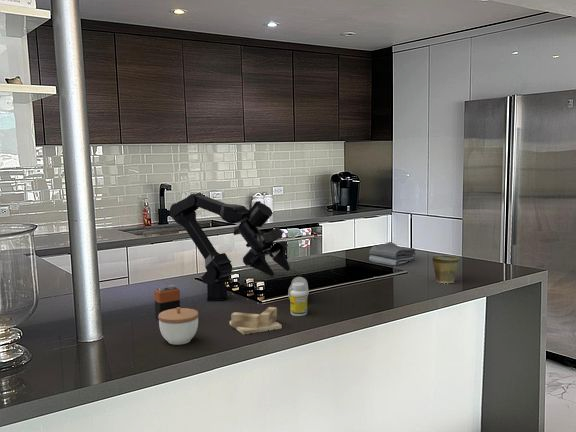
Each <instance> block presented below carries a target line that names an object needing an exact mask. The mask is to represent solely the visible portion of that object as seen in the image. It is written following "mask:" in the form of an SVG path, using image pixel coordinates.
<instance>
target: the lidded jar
mask: <svg viewBox="0 0 576 432" xmlns="http://www.w3.org/2000/svg"><path fill="white" fill-rule="evenodd" d="M158 318H159V319H158V324H159V325H158V327H159V330H160V334H161V336H162V337H163V338H164V339H165V341H167V342H168V344H170V345H173V346H174V345H175V346H177V345H178V346H179V345H185V344H188V343H190V342H191V341H192V339H193V338H194V337H195V335H196V333H197V331H198V328H199V327H198V325H199V312H198V310H197V309H194V308H187V307H181V306H180V307H177V308H176V309H169V310H165V311H163V312H161V313H160V314H159V315H158Z"/></svg>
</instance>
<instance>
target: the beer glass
mask: <svg viewBox="0 0 576 432" xmlns="http://www.w3.org/2000/svg"><path fill="white" fill-rule="evenodd" d="M296 282H301V283H304V284H305V288H304V290H306V291H307V298H308V296H309V294H310V293H309V291H310V290H309V285H308V284H309V283H308V281H307V279H306V278H305V277H302V276H297V277H294V278H293V279H292V280H291V284H290V285H289V287H288V292H287V296H288V299H289V300H290V292H291V291H292V290H293V289H292V284H293V283H296Z"/></svg>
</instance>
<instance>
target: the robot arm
mask: <svg viewBox="0 0 576 432" xmlns="http://www.w3.org/2000/svg"><path fill="white" fill-rule="evenodd" d="M199 208H200V209H203V210H206V211H208V212H210V213H214V214H215V215H218V216H219V217H220V218H221V220H222V221H225V222H226V223H228V224H230V225H234V224H238V225H237V226H234V227H233V228H234V229H233V236H237V235H241V237H242V238H243V239H244V241H245V242H246V244H245V246H246V248H250V249H249V250H248V251H247V253H246V254H244V256H243V257H242V263H243V264H244V265H245V266H246V267H250V268H253V269H255V270H258V271H260V272H262V273H264V274H266V275H268V276H270V277H274V275H275V272H274V270H272V268H271V267H270V264H269V263H268V262H267V260H266V256H270V258H272V261H274V262H275V263H276V264H277V265H279V266H280V267H282V268H283V269H284V270H285V271H287V272H289V271H290V270H291V267H290V265H289V264H290V263H289V262H288V259H287V256H286V251H287V250H288V247H289V245H288V244H287V242H286V241H285V240H281V239H283V234H284V231H283V230H282V229H281V228H280V227H279V226H278V227H277V226H276V227H275V228H272V229H271V230H269V231H268V232H264V231H263V232H261V230H260V229H259V228H262V227H263V226H264V225H265V224H266V222H267V221H268V220H269V219H270V218H271V217H272V216H273V210H272V209H271V208H270V207H269V206H268V205H267V204H265V203H262V202H261V201H260V200H258V201H255V202H254V203H253V205H252V206H251V208H250V209H248V208H247V207H246V206H245V205H241V204H232V203H225V202H223V201H220V200H217V199H215V198H211V197H210V196H209V197H208V196H206V195H204V194H203V193H200V192H198V193H197V192H196V193H190V194H189V195H188V196H187V197H185V198H183V199H181V200H179V201H178V202H175V203H172V204H171V205H170V208H169V216H170V217H171V218H172V220H174V221H175V223H176V224H178V225H179V226H181V227H183V228H184V229H185V232H187V234H188V236H189V237H190V239H191V240H192V242H193V243H194V245H195V246H196V248H197V250H198V252H199V253H200V254H201V255H202V257H203V259H204V267H205V270H206V271H205V272H204V274H202V276H201V280H202V283H203V284H206V290H207V291H206V292H207V294H206V301H207V302H216V301H226V299H227V298H228V284H227V283H226V281H228V280H230V277H231V274H232V272H233V265H232V260H230V259H229V257H228V255H227V254H226V252H222V253H220V252H218V251H217V249H216V248H215V247H214V246H213V243H212V242H211V240H210V239H209V237H208V236H207V234H206V233H205V231H204V230H203V229H202V226H201V225H200V224H199V222H198V221H197V212H196V211H197V210H198V209H199ZM278 240H279V241H278ZM280 240H281V241H280Z"/></svg>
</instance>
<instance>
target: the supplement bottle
mask: <svg viewBox="0 0 576 432" xmlns="http://www.w3.org/2000/svg"><path fill="white" fill-rule="evenodd" d="M304 288H305V284H304V283H301V282H296V283H293V284H292V289H293V290H292V291H291V292H290V299H289V300H290V301H289V302H290V305H289V306H290V307H289V309H290V314H291V315H292V316H294V317H304V316H306V315H307V314H308V297H307V291H306V290H304Z"/></svg>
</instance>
